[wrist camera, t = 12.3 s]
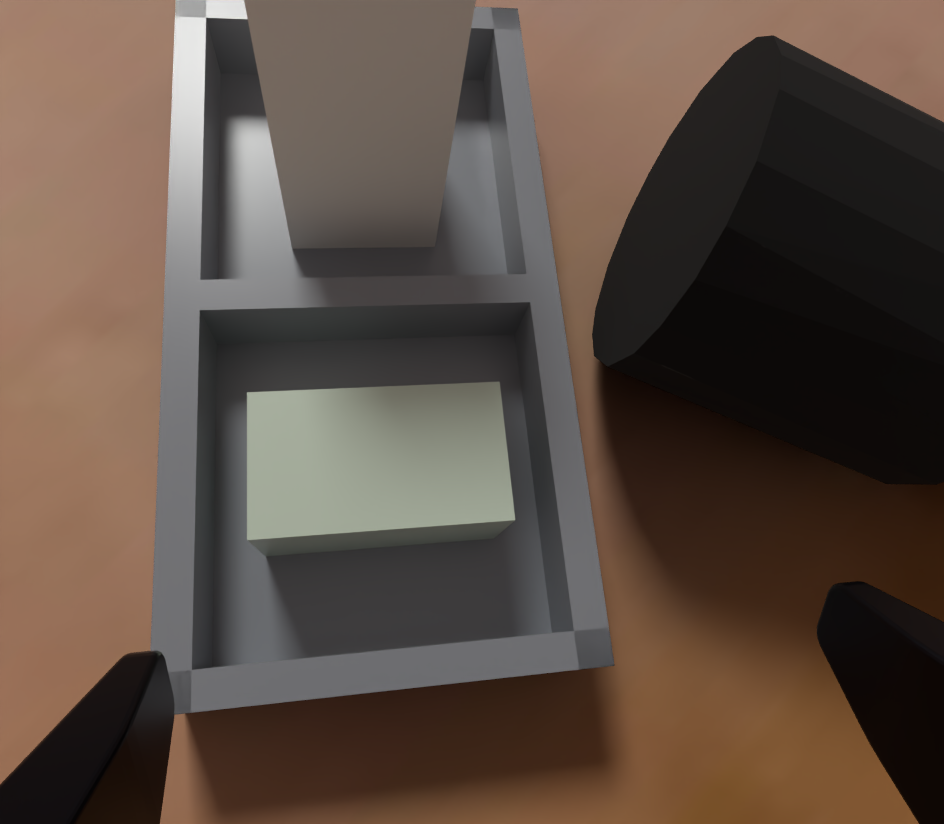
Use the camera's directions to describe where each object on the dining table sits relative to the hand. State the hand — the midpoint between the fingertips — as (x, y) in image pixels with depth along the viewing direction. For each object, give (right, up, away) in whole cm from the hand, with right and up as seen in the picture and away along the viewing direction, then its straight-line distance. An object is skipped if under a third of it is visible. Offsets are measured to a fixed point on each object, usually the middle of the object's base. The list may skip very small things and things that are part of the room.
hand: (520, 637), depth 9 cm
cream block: (-5, +11, +16) cm, 20 cm away
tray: (-4, +6, +16) cm, 17 cm away
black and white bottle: (+20, +1, +18) cm, 27 cm away
